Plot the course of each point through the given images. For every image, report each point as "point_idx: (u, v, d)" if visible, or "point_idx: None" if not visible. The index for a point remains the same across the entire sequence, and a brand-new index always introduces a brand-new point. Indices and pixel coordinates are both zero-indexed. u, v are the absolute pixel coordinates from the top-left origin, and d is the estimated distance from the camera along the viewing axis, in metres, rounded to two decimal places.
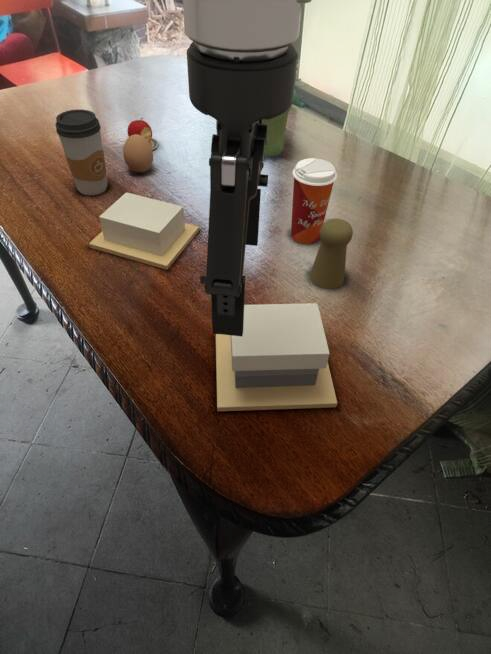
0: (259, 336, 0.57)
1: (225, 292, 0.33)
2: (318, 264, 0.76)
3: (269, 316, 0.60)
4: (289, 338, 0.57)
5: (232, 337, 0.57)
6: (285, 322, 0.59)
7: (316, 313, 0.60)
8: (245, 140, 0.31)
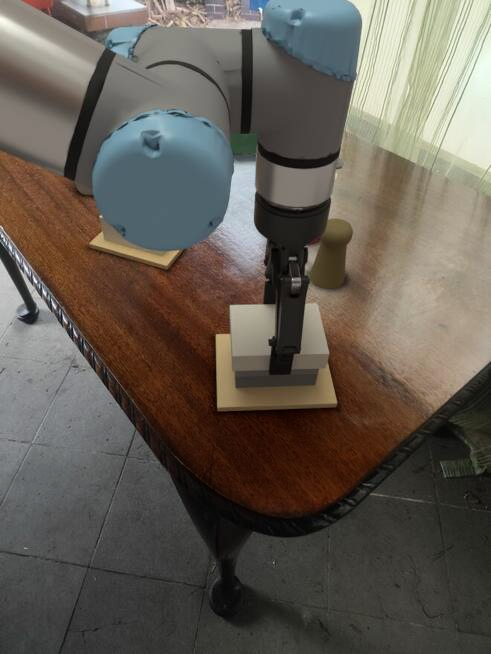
0: (259, 336, 0.57)
1: (291, 353, 0.49)
2: (318, 264, 0.76)
3: (268, 316, 0.60)
4: None
5: (232, 337, 0.57)
6: None
7: (316, 313, 0.60)
8: (301, 255, 0.45)
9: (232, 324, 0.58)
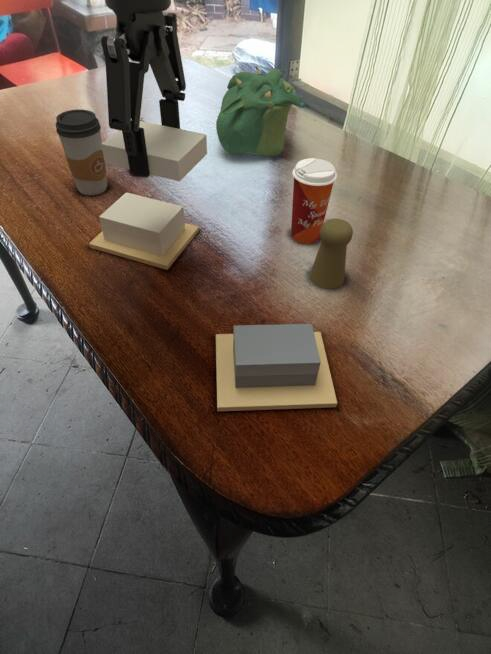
0: None
1: (119, 127, 0.55)
2: (318, 264, 0.76)
3: (156, 131, 0.66)
4: (156, 145, 0.63)
5: (113, 135, 0.65)
6: (166, 137, 0.65)
7: (197, 139, 0.65)
8: (129, 25, 0.51)
9: None
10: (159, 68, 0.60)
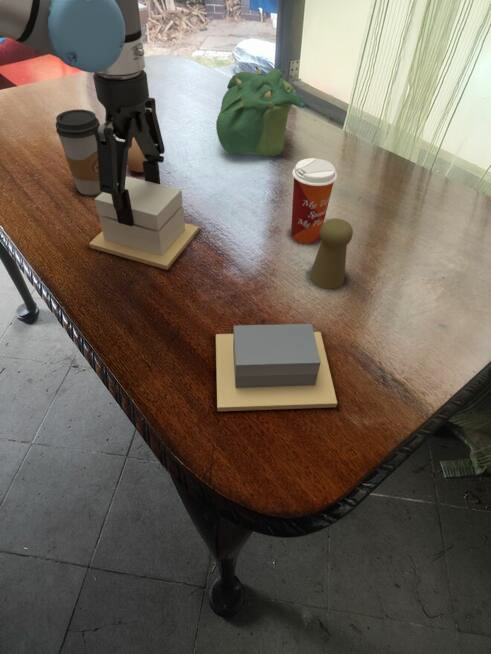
0: None
1: (108, 192, 0.70)
2: (318, 264, 0.76)
3: (140, 187, 0.80)
4: (139, 200, 0.77)
5: None
6: (147, 192, 0.79)
7: (173, 194, 0.79)
8: (115, 116, 0.65)
9: None
10: (141, 140, 0.74)
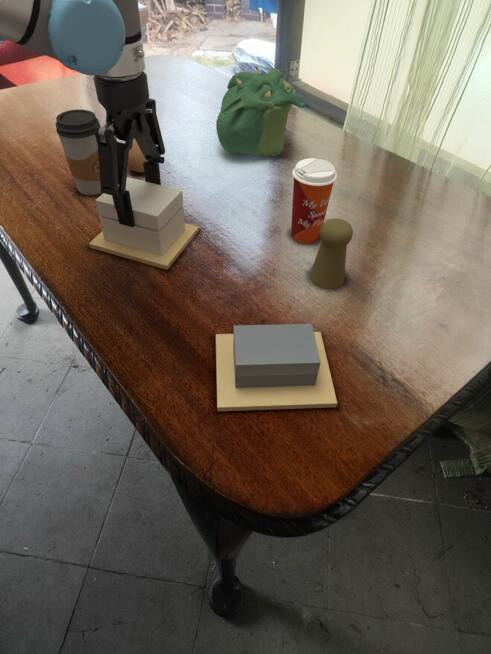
0: None
1: (109, 193, 0.70)
2: (318, 264, 0.76)
3: (141, 188, 0.80)
4: (140, 201, 0.77)
5: None
6: (148, 193, 0.79)
7: (174, 195, 0.79)
8: (115, 118, 0.65)
9: None
10: (142, 141, 0.74)
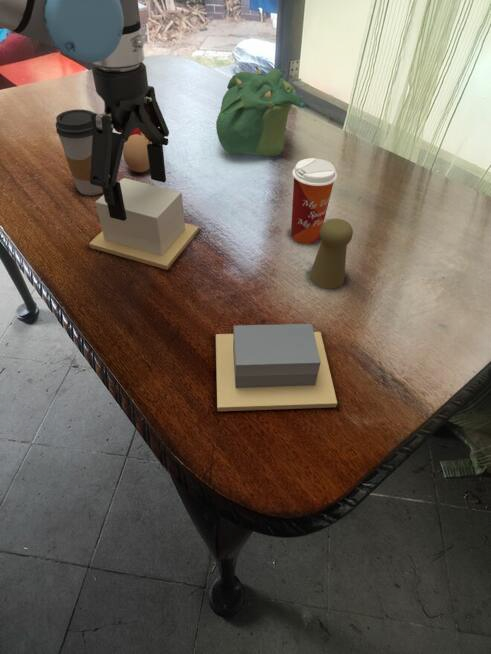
0: None
1: (98, 183, 0.67)
2: (318, 264, 0.76)
3: (140, 190, 0.80)
4: (140, 203, 0.77)
5: None
6: (148, 195, 0.79)
7: (174, 196, 0.79)
8: (114, 109, 0.64)
9: None
10: (144, 128, 0.74)
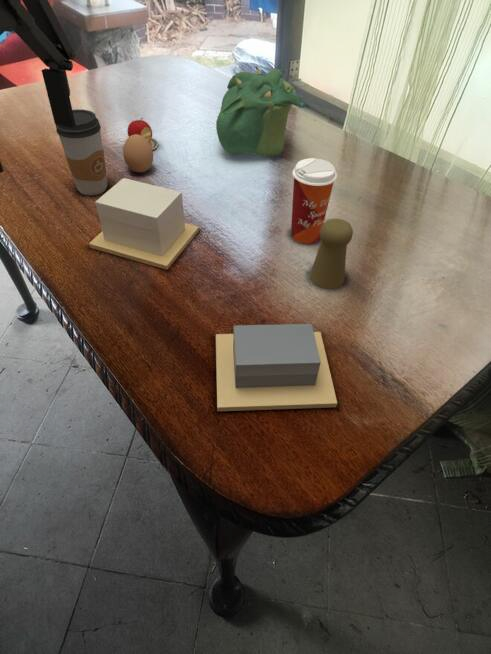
0: (122, 197, 0.78)
1: None
2: (318, 264, 0.76)
3: (140, 190, 0.80)
4: (140, 203, 0.77)
5: (105, 193, 0.79)
6: (148, 195, 0.79)
7: (174, 196, 0.79)
8: None
9: (113, 187, 0.81)
10: (28, 38, 0.50)
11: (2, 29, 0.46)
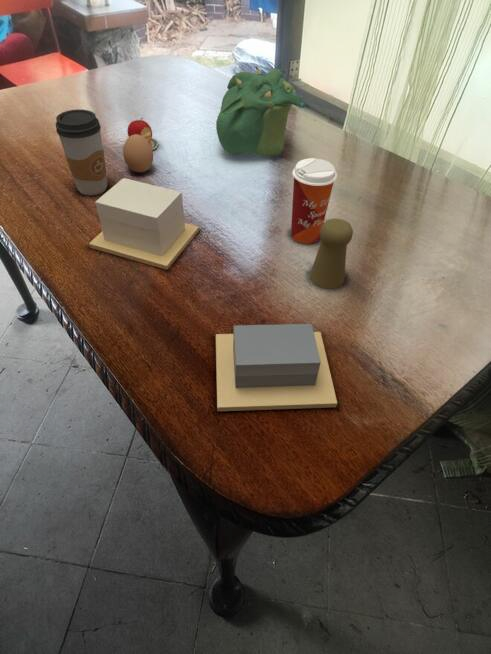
0: (122, 197, 0.78)
1: None
2: (318, 264, 0.76)
3: (140, 190, 0.80)
4: (140, 203, 0.77)
5: (105, 193, 0.79)
6: (148, 195, 0.79)
7: (174, 196, 0.79)
8: None
9: (113, 187, 0.81)
10: None
11: None
